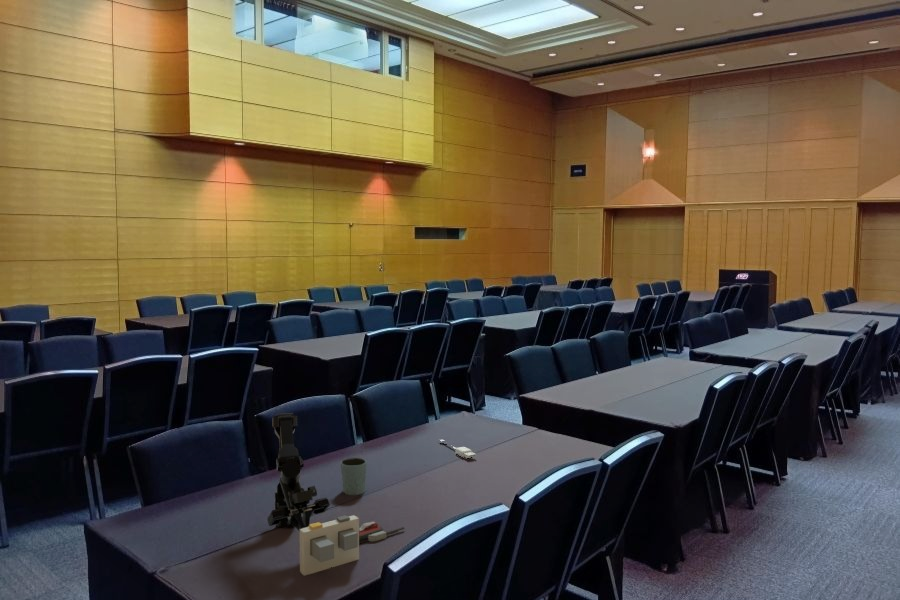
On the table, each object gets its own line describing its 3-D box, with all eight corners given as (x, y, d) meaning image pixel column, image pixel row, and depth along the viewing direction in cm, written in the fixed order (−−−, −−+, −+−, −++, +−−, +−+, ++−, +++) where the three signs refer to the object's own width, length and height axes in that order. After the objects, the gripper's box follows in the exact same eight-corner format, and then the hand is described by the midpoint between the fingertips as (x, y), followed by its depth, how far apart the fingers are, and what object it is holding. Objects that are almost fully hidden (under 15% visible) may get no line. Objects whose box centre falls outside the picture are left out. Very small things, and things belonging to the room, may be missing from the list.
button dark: (331, 540, 206) (330, 526, 206) (343, 536, 209) (343, 522, 209) (344, 551, 199) (344, 536, 199) (357, 547, 202) (357, 533, 201)
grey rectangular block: (307, 550, 199) (307, 536, 199) (320, 547, 202) (320, 532, 201) (320, 562, 192) (320, 547, 191) (334, 558, 194) (334, 543, 194)
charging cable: (443, 443, 332) (443, 436, 332) (476, 459, 303) (476, 452, 303) (434, 444, 330) (434, 438, 329) (467, 460, 301) (467, 453, 301)
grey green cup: (361, 497, 257) (361, 466, 256) (336, 494, 259) (336, 464, 258) (370, 487, 267) (369, 458, 266) (345, 485, 269) (345, 456, 268)
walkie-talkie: (354, 549, 214) (406, 533, 226) (354, 536, 213) (406, 520, 226) (340, 540, 221) (391, 524, 233) (340, 527, 220) (391, 512, 233)
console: (299, 571, 198) (299, 526, 197) (354, 555, 209) (354, 512, 208) (304, 575, 196) (303, 530, 195) (358, 559, 206) (358, 515, 205)
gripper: (270, 484, 201) (285, 533, 194) (327, 472, 212) (343, 518, 205) (261, 501, 209) (275, 549, 201) (316, 489, 220) (332, 533, 212)
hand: (307, 537), depth 204 cm, fingers closed
